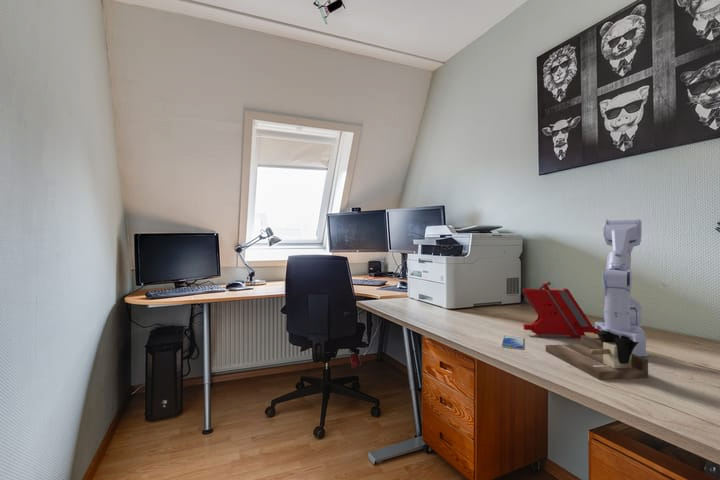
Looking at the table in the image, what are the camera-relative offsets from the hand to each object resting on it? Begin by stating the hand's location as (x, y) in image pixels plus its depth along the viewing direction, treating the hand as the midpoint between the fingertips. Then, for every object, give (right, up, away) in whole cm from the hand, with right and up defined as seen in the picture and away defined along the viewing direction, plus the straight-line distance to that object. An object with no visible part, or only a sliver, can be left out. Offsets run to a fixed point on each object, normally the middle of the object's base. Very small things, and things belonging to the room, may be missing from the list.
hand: (617, 360), depth 99 cm
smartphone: (-17, -4, +29) cm, 34 cm away
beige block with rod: (-2, -1, 0) cm, 3 cm away
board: (-2, -3, +8) cm, 9 cm away
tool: (+7, -4, +38) cm, 38 cm away
